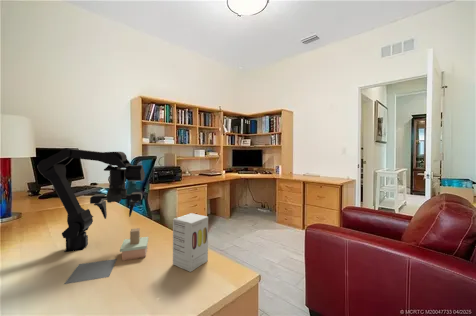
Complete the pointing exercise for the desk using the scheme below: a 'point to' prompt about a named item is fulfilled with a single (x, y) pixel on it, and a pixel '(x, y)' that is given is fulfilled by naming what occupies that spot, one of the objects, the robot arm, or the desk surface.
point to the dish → (134, 254)
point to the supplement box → (190, 241)
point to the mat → (91, 271)
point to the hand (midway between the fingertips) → (117, 217)
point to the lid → (134, 241)
